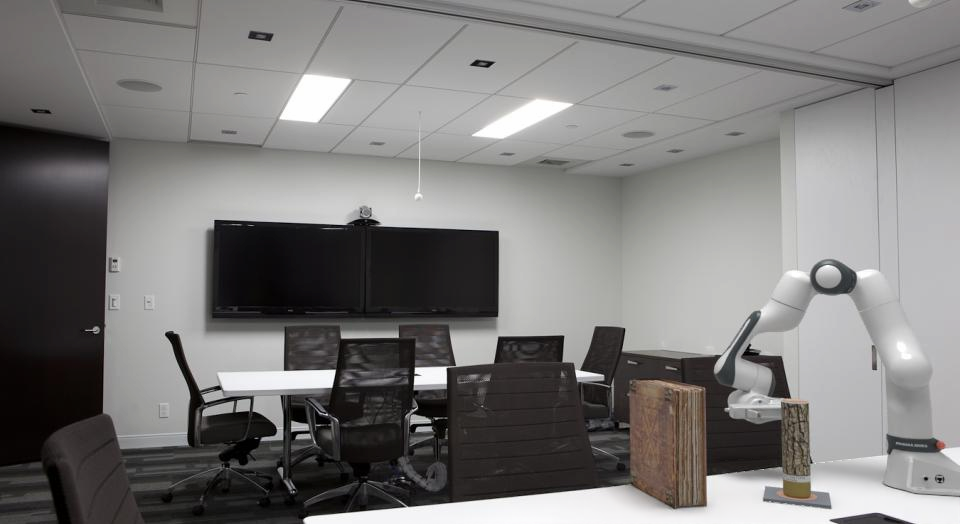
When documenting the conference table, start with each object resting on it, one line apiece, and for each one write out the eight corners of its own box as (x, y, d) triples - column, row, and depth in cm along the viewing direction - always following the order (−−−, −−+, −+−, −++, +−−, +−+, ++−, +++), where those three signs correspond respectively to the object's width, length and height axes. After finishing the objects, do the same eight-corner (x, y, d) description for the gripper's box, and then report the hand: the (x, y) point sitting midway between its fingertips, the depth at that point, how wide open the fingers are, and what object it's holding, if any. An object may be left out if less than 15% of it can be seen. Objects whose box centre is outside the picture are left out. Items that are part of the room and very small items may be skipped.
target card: (829, 495, 189) (829, 492, 189) (831, 508, 176) (831, 505, 177) (765, 488, 196) (765, 485, 196) (763, 501, 183) (763, 497, 183)
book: (707, 507, 177) (705, 387, 179) (674, 509, 175) (673, 388, 177) (659, 483, 202) (658, 378, 204) (629, 484, 200) (629, 378, 202)
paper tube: (814, 499, 181) (811, 402, 183) (785, 498, 183) (783, 401, 185) (807, 493, 188) (805, 399, 190) (780, 491, 190) (778, 398, 191)
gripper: (722, 398, 215) (738, 404, 202) (788, 397, 215) (809, 403, 201) (722, 419, 215) (739, 426, 201) (789, 418, 215) (810, 425, 201)
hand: (774, 415), depth 201 cm, fingers open, 8 cm apart
